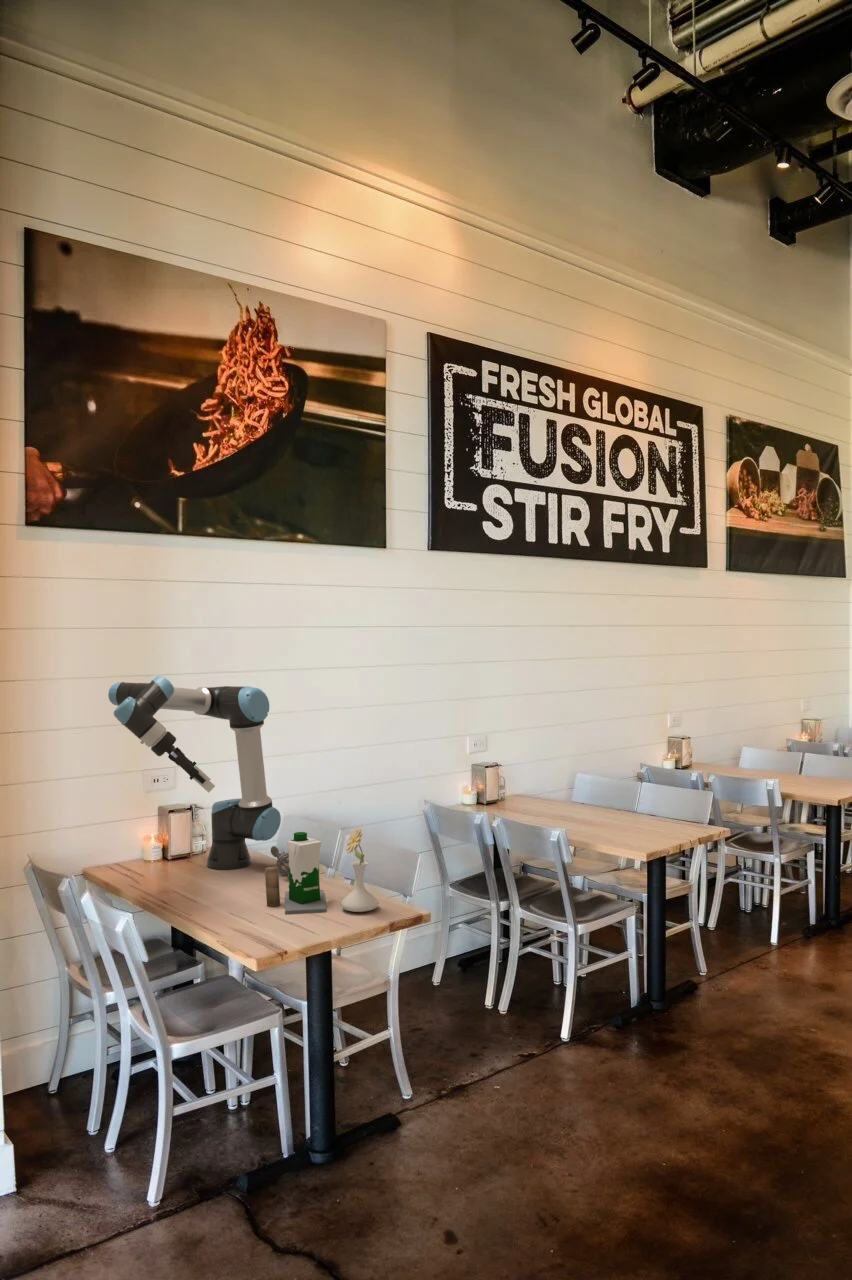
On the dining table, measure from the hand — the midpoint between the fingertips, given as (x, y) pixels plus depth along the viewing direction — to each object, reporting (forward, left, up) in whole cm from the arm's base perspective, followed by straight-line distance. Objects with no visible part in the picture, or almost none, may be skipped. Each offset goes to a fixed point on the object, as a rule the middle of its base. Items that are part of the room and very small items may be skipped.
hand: (209, 785), depth 278 cm
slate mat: (+7, +29, -36) cm, 46 cm away
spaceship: (-26, +23, -36) cm, 50 cm away
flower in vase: (+17, +45, -36) cm, 60 cm away
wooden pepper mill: (+7, +19, -36) cm, 41 cm away
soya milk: (+7, +29, -35) cm, 46 cm away
